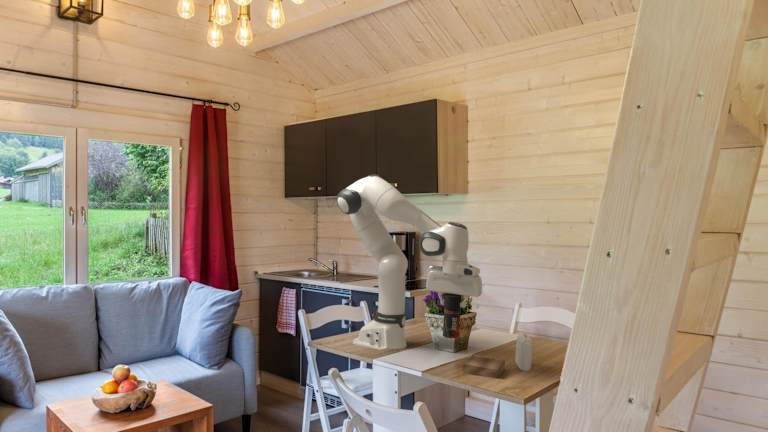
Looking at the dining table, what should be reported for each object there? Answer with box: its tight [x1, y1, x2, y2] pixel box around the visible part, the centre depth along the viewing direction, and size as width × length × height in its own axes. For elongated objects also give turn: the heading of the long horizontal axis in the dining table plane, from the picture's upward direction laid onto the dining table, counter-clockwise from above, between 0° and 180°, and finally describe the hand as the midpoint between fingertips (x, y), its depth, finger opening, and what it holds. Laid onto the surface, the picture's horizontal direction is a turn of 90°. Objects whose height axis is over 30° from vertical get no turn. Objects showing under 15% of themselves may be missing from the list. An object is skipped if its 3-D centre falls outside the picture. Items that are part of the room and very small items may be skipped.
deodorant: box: [442, 293, 462, 339], centre depth 210 cm, size 6×6×15 cm
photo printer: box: [514, 332, 533, 372], centre depth 214 cm, size 10×4×12 cm, turn 179°
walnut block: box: [462, 355, 506, 379], centre depth 206 cm, size 12×12×4 cm
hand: (452, 306), depth 210 cm, fingers closed on deodorant, 6 cm apart
